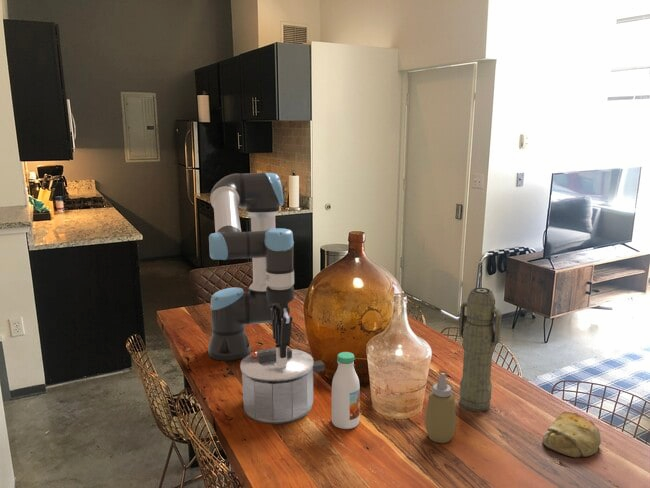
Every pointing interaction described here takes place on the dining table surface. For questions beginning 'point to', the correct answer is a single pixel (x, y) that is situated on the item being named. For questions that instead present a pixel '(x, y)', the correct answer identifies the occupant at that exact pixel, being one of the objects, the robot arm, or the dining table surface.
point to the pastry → (572, 435)
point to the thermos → (478, 348)
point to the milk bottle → (345, 393)
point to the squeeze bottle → (441, 412)
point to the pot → (279, 397)
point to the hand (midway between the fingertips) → (281, 366)
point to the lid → (265, 369)
